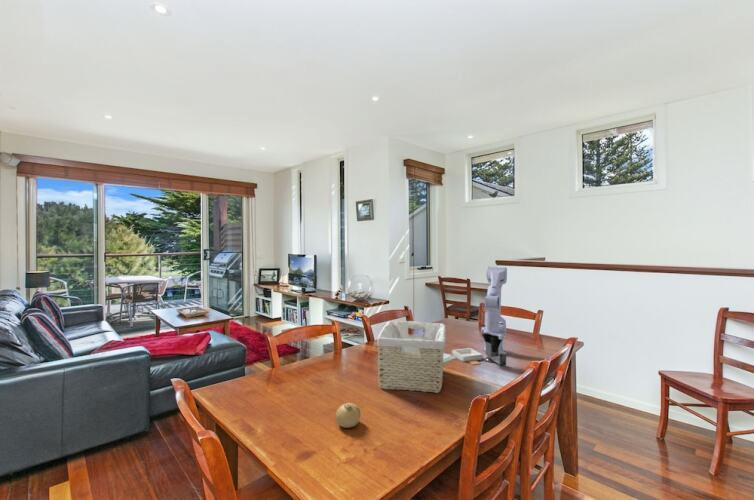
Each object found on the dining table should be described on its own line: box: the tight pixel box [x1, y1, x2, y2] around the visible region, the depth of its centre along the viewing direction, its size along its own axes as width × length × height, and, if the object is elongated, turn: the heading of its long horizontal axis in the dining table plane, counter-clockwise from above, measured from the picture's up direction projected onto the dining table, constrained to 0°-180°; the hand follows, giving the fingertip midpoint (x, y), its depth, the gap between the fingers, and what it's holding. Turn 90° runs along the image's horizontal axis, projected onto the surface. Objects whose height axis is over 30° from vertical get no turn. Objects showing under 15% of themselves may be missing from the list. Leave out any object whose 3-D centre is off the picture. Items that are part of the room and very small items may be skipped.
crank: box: [486, 354, 507, 367], centre depth 165 cm, size 12×3×5 cm, turn 18°
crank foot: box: [484, 356, 496, 364], centre depth 169 cm, size 5×5×1 cm
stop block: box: [485, 341, 499, 357], centre depth 163 cm, size 4×4×6 cm
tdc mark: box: [467, 360, 481, 366], centre depth 166 cm, size 4×4×1 cm
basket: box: [376, 320, 447, 394], centre depth 147 cm, size 27×27×22 cm
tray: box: [451, 347, 484, 363], centre depth 174 cm, size 11×11×2 cm
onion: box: [335, 402, 361, 429], centre depth 112 cm, size 8×8×7 cm
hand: (492, 350), depth 163 cm, fingers closed on stop block, 4 cm apart
